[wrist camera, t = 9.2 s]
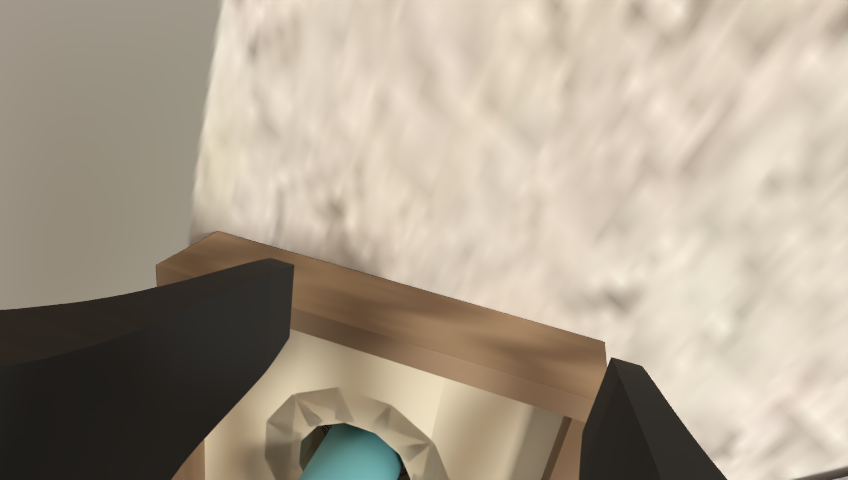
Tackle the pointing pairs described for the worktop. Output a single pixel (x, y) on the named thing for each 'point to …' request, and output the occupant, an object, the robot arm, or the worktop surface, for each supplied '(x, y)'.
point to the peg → (353, 456)
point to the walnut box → (399, 379)
